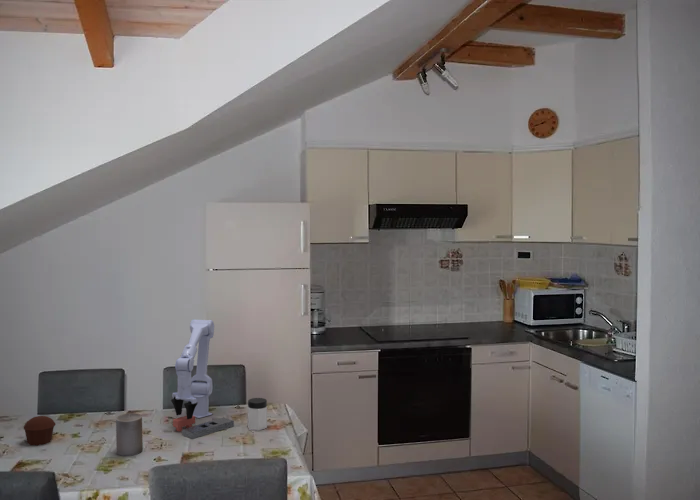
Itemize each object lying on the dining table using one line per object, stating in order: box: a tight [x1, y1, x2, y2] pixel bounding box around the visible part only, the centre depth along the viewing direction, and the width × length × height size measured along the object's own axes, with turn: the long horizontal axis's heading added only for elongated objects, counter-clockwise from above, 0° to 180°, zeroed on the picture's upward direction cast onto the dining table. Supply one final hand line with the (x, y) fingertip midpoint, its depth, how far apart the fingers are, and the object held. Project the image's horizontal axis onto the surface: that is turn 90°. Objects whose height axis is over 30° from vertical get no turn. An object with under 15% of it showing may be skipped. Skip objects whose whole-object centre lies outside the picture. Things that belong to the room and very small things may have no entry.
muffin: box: [23, 415, 56, 446], centre depth 262 cm, size 12×11×10 cm
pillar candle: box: [115, 412, 144, 457], centre depth 253 cm, size 10×10×15 cm
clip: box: [172, 415, 196, 433], centre depth 280 cm, size 4×9×5 cm, turn 140°
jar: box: [247, 397, 268, 431], centre depth 284 cm, size 9×8×12 cm
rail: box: [181, 416, 235, 440], centre depth 279 cm, size 7×22×2 cm, turn 140°
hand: (184, 416), depth 280 cm, fingers open, 7 cm apart
